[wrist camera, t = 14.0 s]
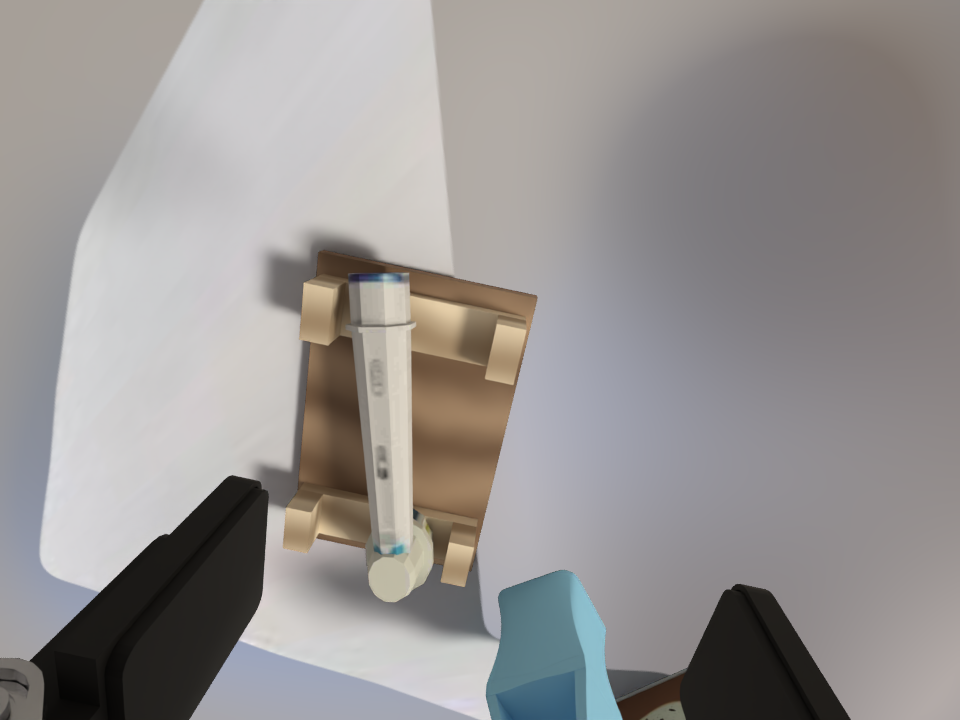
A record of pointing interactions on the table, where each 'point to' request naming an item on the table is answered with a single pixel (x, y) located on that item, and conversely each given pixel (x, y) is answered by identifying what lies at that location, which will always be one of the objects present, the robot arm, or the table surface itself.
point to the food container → (654, 700)
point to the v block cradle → (435, 408)
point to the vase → (550, 654)
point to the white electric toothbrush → (388, 432)
